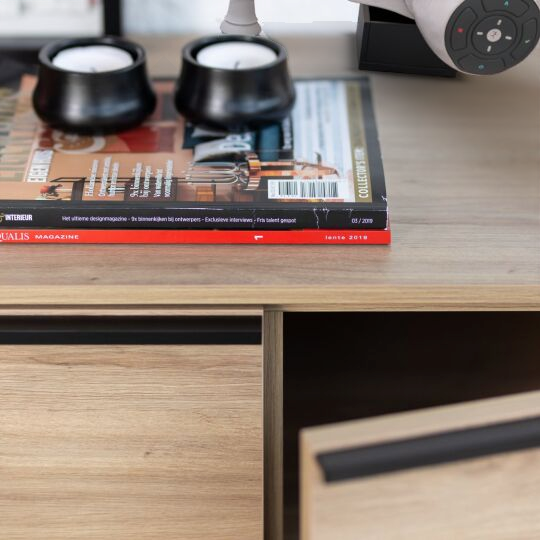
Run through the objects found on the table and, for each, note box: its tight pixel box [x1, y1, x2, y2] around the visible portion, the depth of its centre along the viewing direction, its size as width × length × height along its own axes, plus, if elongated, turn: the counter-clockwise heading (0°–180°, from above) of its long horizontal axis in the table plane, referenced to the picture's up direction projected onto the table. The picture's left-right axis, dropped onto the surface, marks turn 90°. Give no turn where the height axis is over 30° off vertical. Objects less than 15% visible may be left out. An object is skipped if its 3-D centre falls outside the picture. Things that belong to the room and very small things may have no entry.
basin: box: [355, 3, 458, 78], centre depth 97 cm, size 10×10×5 cm
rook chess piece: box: [218, 0, 262, 38], centre depth 96 cm, size 4×4×8 cm
